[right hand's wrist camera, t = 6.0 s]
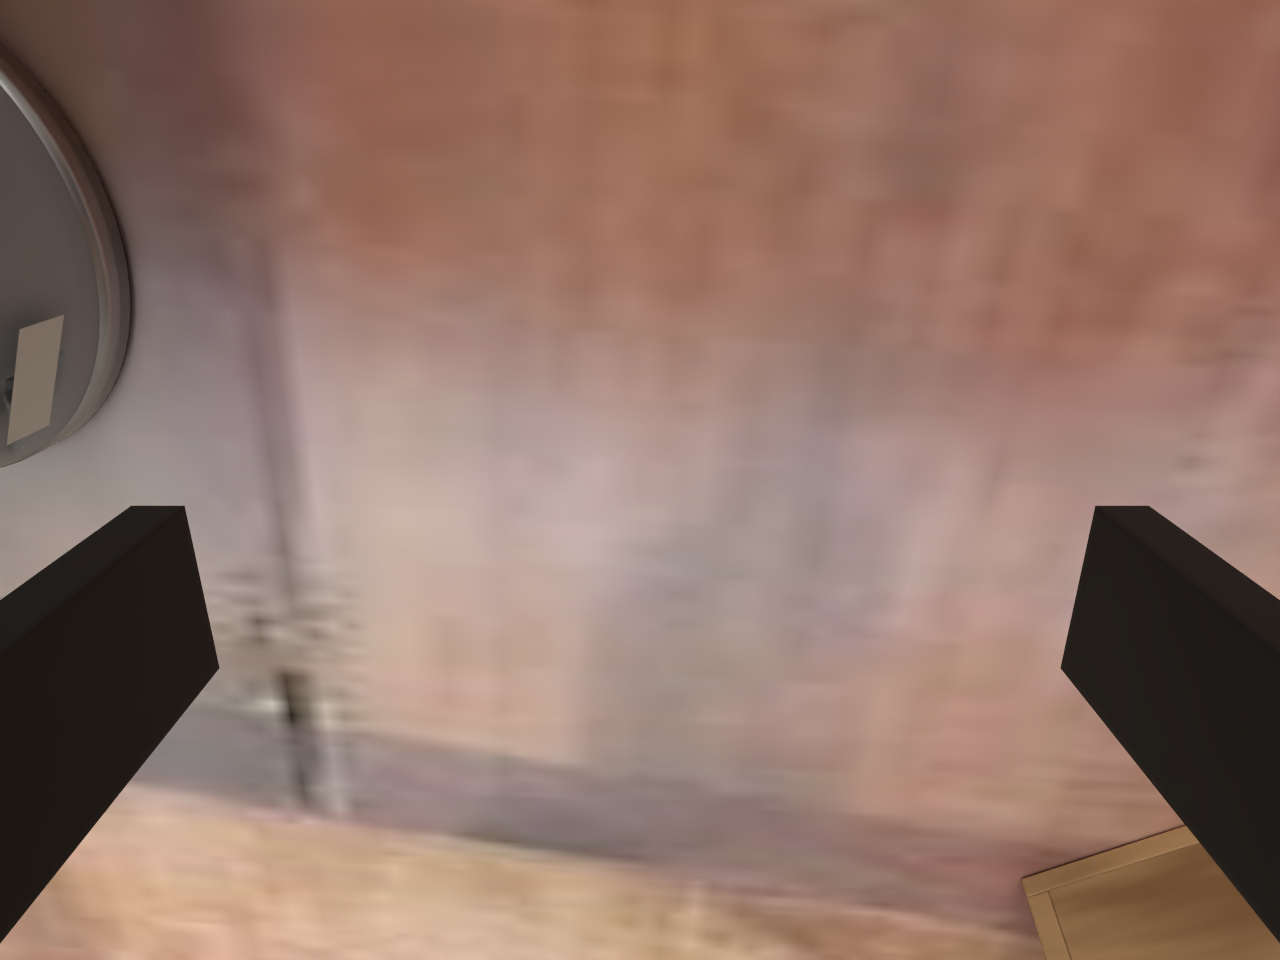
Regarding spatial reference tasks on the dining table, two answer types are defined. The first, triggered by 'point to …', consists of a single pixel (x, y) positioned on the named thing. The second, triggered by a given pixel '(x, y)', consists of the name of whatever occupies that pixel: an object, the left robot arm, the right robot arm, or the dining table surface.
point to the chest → (1146, 906)
